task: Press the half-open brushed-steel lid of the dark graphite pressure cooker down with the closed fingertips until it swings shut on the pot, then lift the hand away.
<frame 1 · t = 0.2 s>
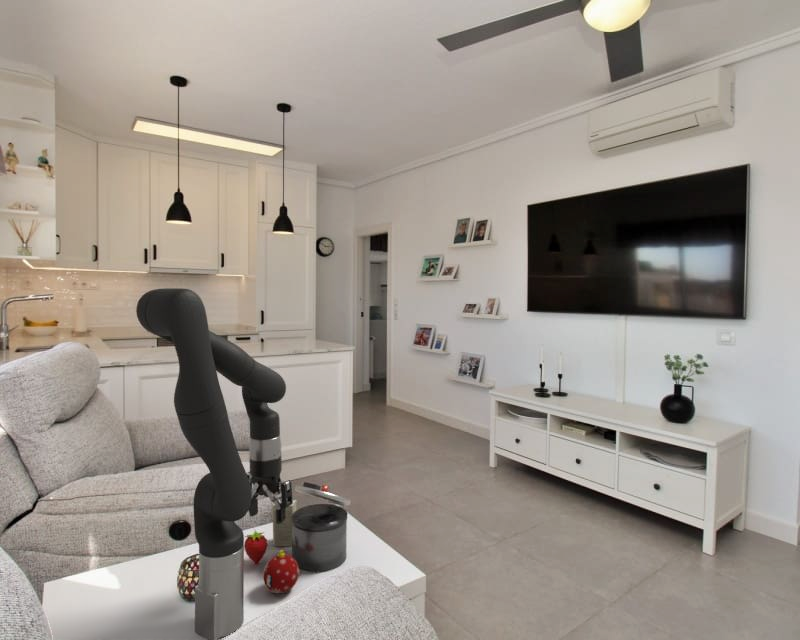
hand: (267, 518, 117), 18 cm above the table, tool pointing down, fingers open, 8 cm apart
cooker pot: (319, 557, 134), on the table
cooker lid: (324, 492, 135), point 18 cm above the table, hinge at 30.0°
christmas ornament: (281, 591, 118), on the table
strawberry: (255, 565, 130), on the table
skincare box: (285, 543, 142), on the table
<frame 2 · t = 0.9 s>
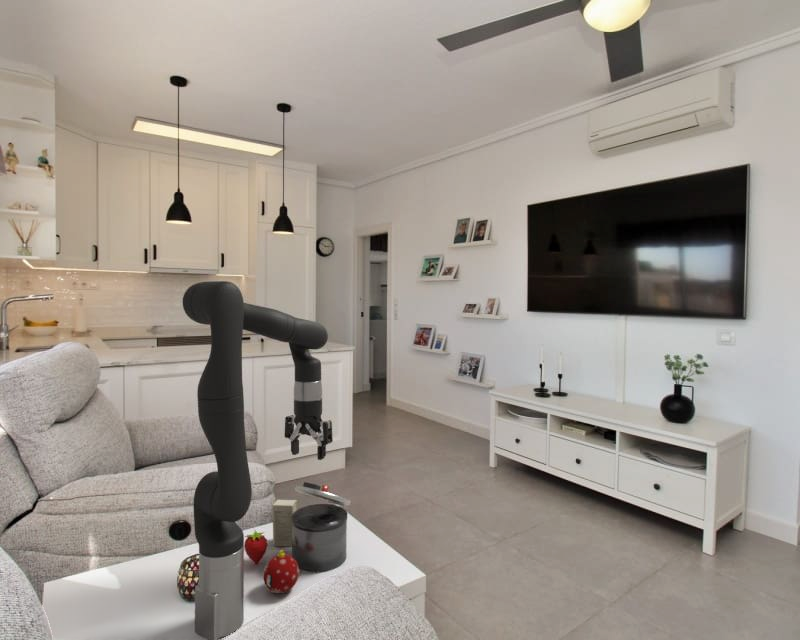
hand: (308, 456, 129), 30 cm above the table, tool pointing down, fingers open, 8 cm apart
nothing on the table moved.
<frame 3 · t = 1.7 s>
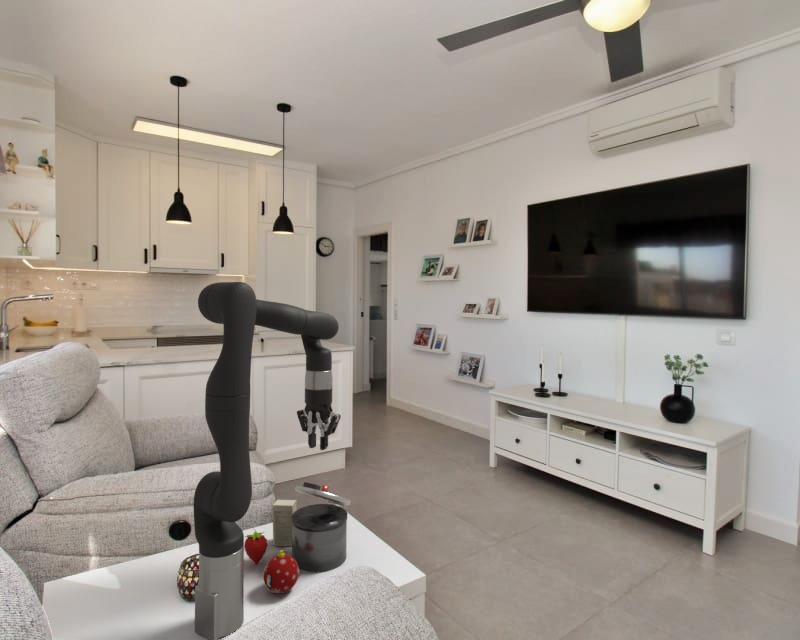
hand: (318, 448, 132), 31 cm above the table, tool pointing down, fingers open, 3 cm apart
nothing on the table moved.
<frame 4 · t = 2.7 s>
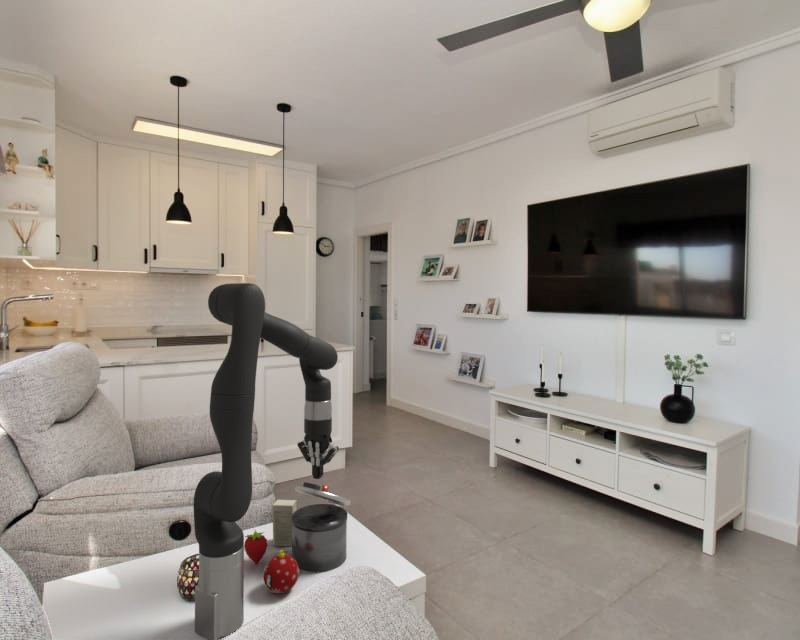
hand: (317, 478, 132), 23 cm above the table, tool pointing down, fingers closed
nothing on the table moved.
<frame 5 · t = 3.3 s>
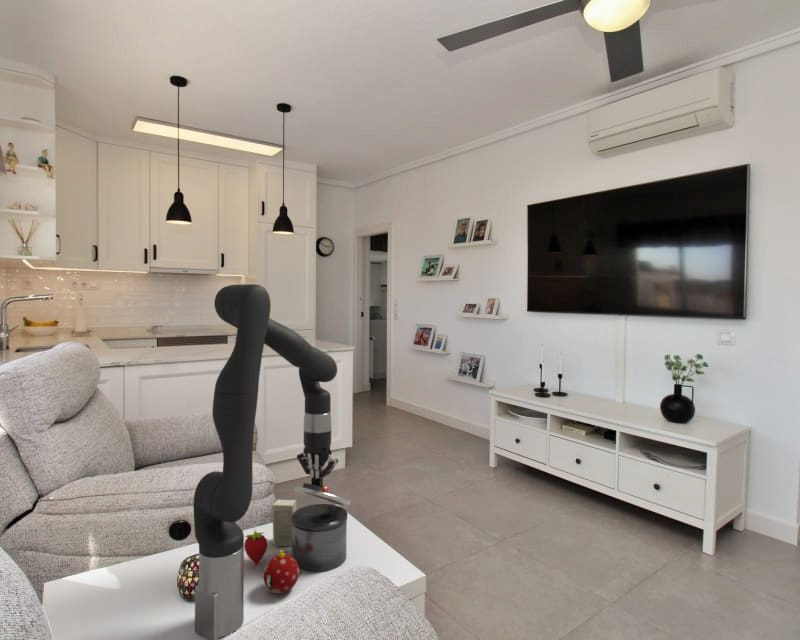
hand: (317, 490, 132), 19 cm above the table, tool pointing down, fingers closed
cooker lid: (324, 493, 135), point 18 cm above the table, hinge at 29.2°, touching gripper
everything else where it was.
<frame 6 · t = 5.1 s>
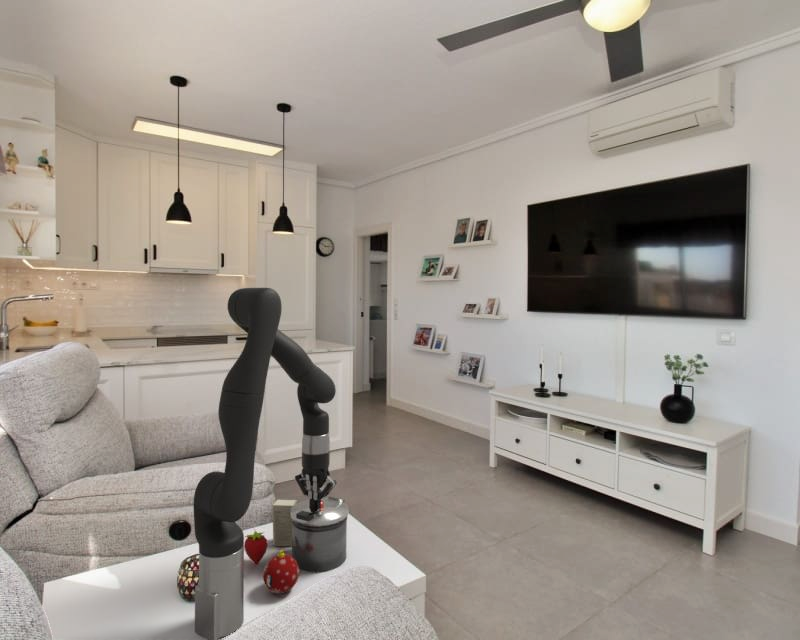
hand: (315, 511, 131), 14 cm above the table, tool pointing down, fingers closed
cooker lid: (320, 507, 134), point 14 cm above the table, hinge at 0.1°
everything else where it was.
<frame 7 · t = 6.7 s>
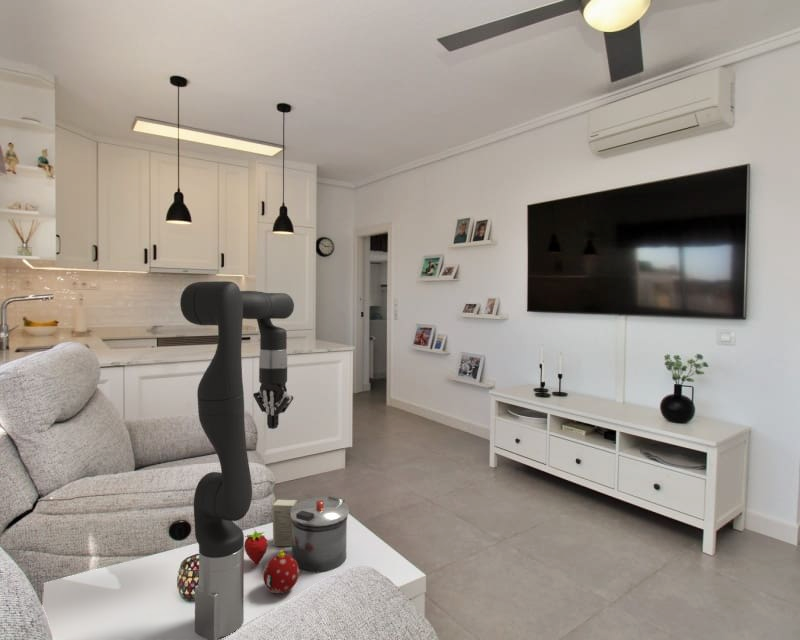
hand: (272, 428, 132), 37 cm above the table, tool pointing down, fingers closed
nothing on the table moved.
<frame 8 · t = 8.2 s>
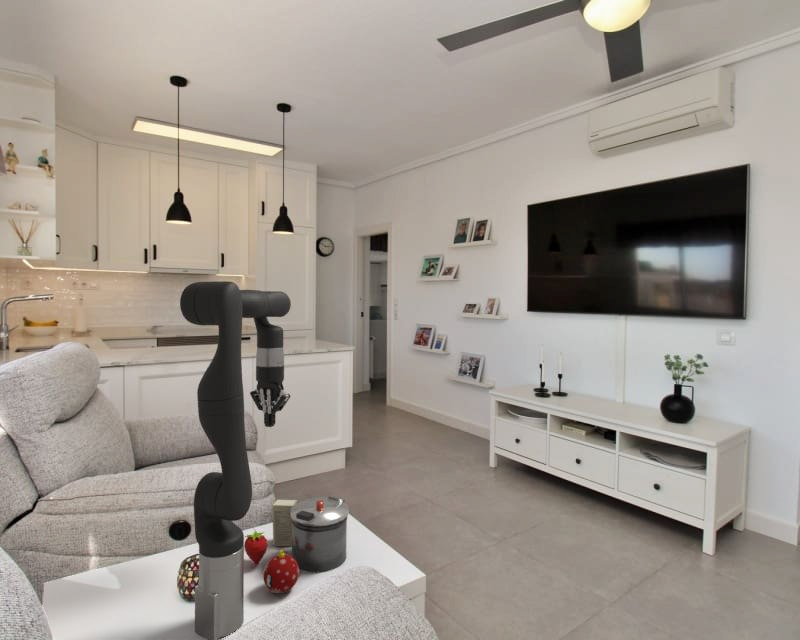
hand: (269, 426, 132), 37 cm above the table, tool pointing down, fingers closed
nothing on the table moved.
at the end: cooker lid at +0° (first picture: +30°); skincare box moved 0.2 cm from its start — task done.
